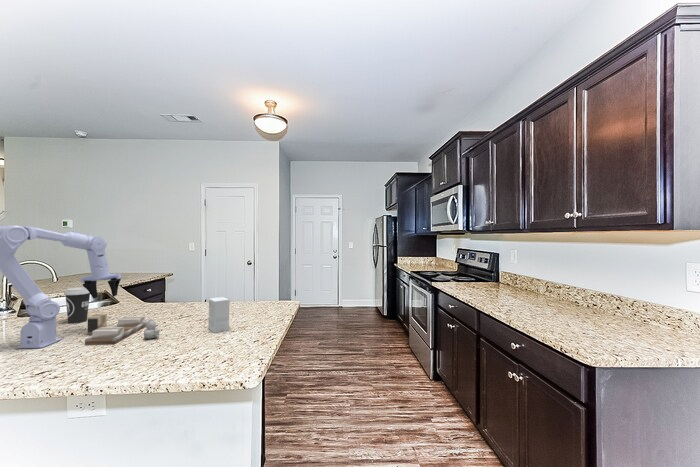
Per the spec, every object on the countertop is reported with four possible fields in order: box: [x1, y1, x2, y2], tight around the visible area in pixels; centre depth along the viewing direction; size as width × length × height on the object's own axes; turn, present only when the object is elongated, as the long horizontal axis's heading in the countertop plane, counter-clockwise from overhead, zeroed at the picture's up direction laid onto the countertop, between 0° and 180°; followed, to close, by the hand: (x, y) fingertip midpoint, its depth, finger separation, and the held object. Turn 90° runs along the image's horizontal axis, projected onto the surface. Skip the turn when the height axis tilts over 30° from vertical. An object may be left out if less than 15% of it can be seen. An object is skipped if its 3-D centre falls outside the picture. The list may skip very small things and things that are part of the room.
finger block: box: [87, 313, 108, 336], centre depth 130 cm, size 6×4×7 cm
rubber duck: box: [143, 317, 161, 340], centre depth 124 cm, size 5×7×8 cm
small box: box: [207, 296, 230, 333], centre depth 137 cm, size 8×6×13 cm
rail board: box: [84, 315, 150, 346], centre depth 129 cm, size 26×10×4 cm, turn 7°
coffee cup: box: [63, 286, 91, 324], centre depth 146 cm, size 10×10×15 cm
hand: (105, 296), depth 135 cm, fingers open, 7 cm apart
